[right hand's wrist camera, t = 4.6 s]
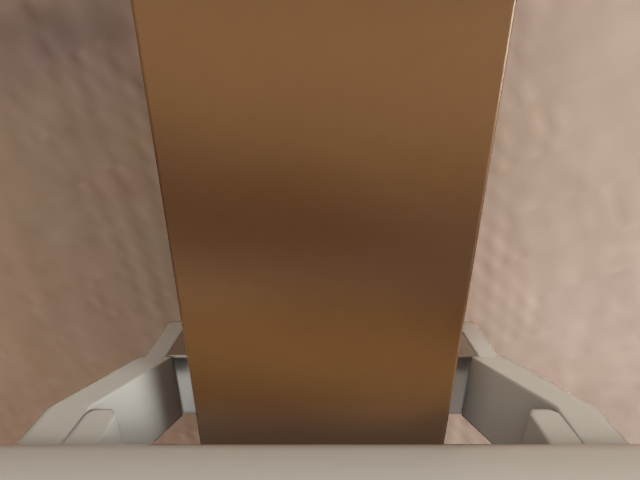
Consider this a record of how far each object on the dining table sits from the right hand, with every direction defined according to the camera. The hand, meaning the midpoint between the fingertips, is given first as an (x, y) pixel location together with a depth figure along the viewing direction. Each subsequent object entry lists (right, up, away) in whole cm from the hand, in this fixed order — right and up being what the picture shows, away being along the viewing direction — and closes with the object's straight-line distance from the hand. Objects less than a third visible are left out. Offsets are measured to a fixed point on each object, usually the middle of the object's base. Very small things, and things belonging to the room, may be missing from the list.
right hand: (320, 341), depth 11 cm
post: (0, +21, -5) cm, 22 cm away
